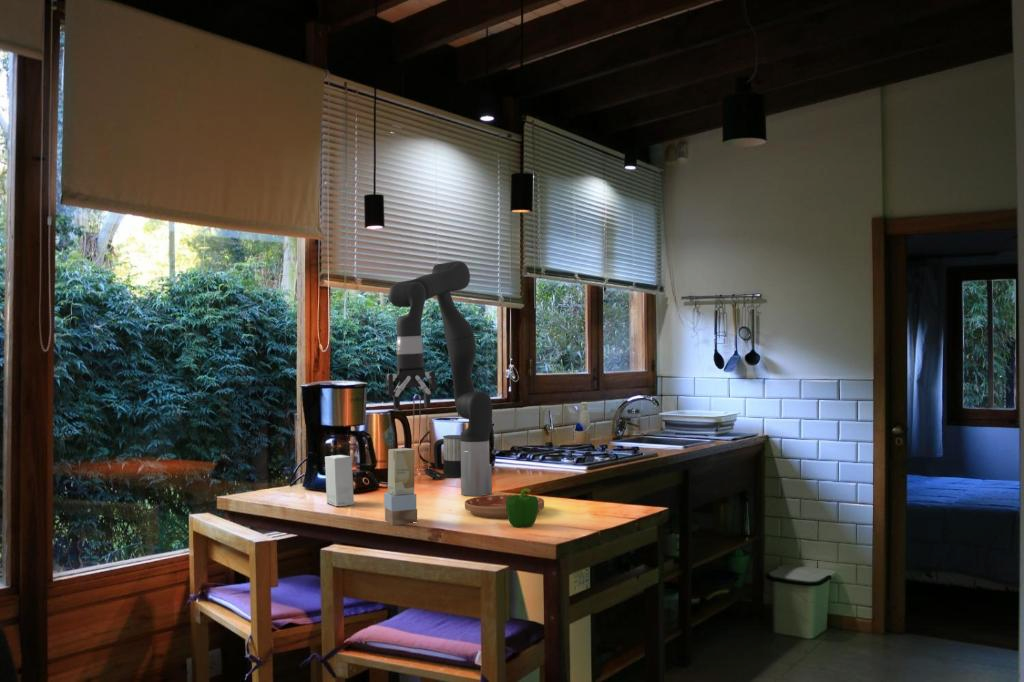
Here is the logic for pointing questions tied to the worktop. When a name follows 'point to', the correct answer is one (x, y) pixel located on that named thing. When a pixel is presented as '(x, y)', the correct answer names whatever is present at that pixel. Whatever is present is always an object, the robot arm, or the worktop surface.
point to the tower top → (399, 502)
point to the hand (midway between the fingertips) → (412, 408)
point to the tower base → (400, 516)
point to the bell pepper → (522, 509)
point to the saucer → (492, 506)
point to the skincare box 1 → (339, 480)
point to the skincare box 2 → (401, 471)
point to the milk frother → (447, 458)
